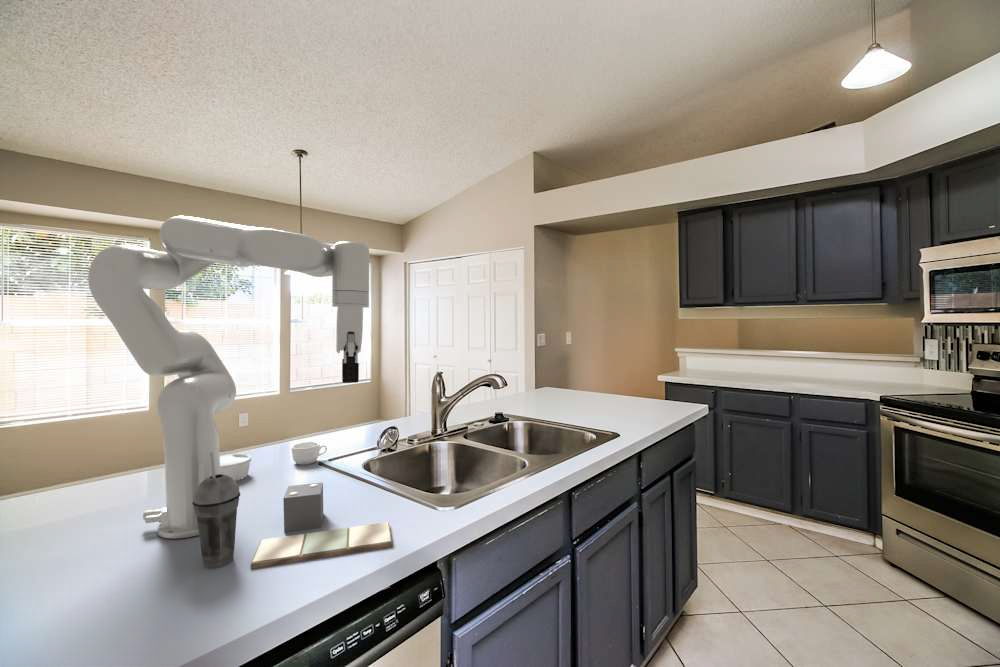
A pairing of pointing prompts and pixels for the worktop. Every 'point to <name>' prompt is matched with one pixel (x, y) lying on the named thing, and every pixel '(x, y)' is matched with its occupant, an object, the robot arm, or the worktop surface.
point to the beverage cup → (216, 517)
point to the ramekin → (235, 465)
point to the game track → (321, 544)
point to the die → (303, 507)
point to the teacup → (306, 452)
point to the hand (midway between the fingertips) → (350, 379)
